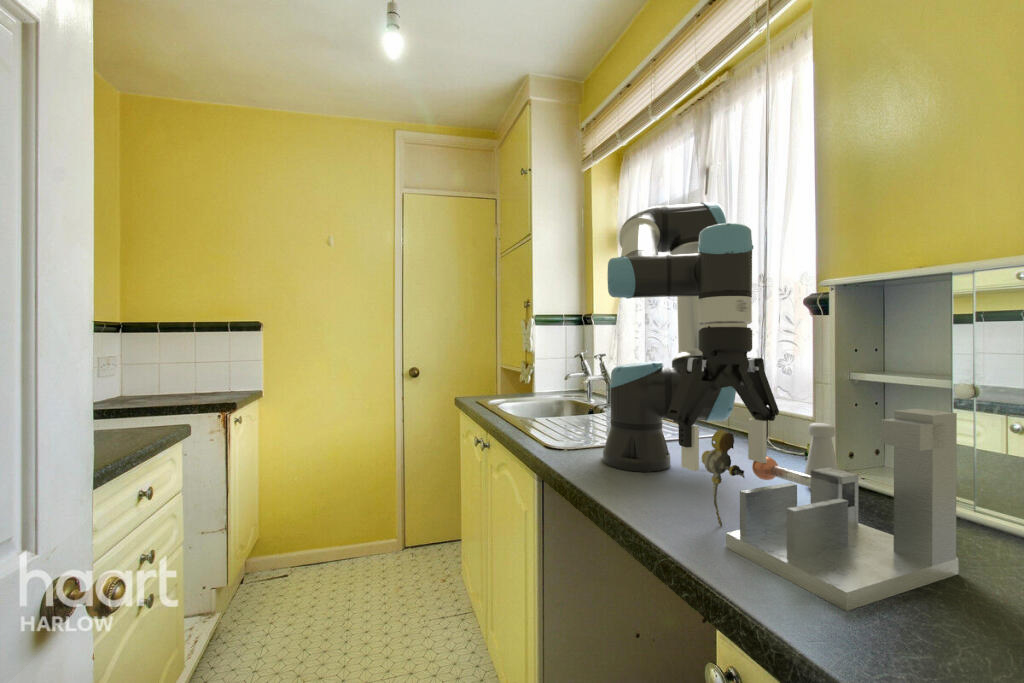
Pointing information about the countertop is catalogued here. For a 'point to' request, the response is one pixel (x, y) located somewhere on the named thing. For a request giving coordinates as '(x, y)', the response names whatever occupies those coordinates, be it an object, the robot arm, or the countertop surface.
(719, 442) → the regulator
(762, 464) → the lever
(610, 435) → the robot arm
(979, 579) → the countertop surface
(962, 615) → the countertop surface
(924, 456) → the press
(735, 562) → the countertop surface
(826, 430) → the salt shaker
